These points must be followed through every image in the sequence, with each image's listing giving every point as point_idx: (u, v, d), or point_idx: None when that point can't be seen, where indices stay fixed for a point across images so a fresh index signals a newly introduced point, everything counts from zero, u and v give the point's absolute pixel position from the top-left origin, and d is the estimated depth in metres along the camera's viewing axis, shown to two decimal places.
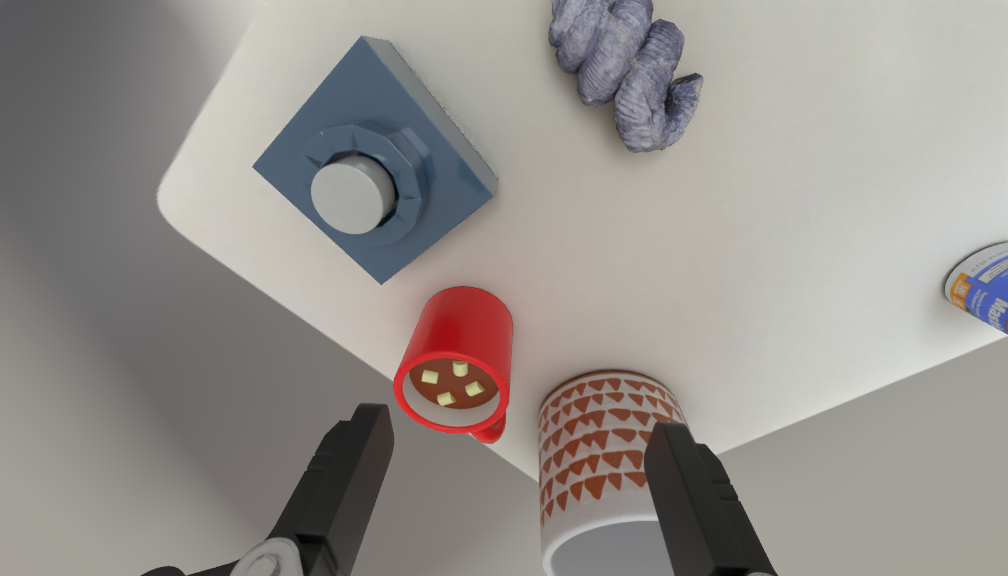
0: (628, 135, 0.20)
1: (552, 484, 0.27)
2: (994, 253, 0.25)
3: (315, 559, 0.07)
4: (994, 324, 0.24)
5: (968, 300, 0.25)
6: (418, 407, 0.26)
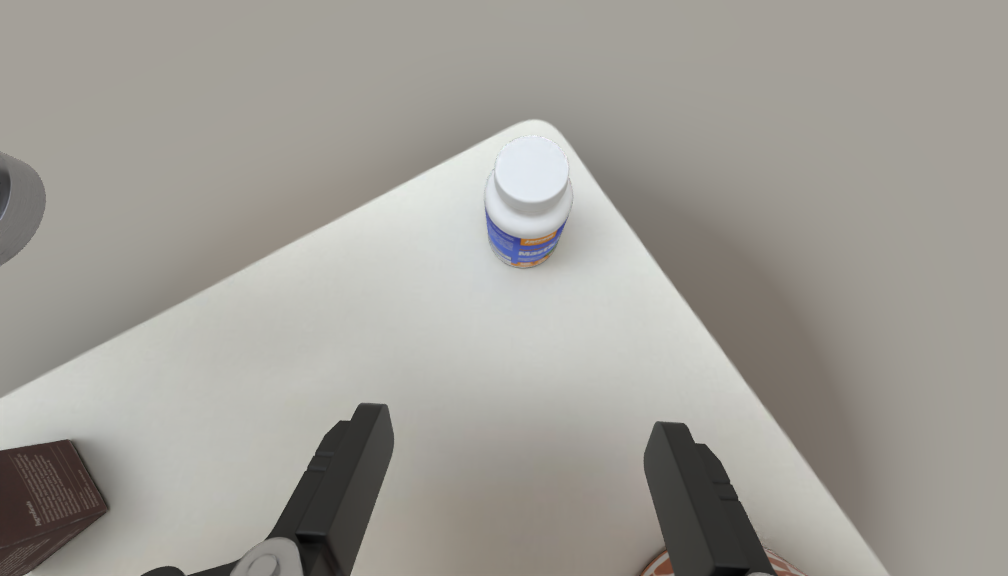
0: None
1: None
2: (492, 248, 0.27)
3: (315, 559, 0.07)
4: (549, 247, 0.25)
5: (532, 260, 0.26)
6: None
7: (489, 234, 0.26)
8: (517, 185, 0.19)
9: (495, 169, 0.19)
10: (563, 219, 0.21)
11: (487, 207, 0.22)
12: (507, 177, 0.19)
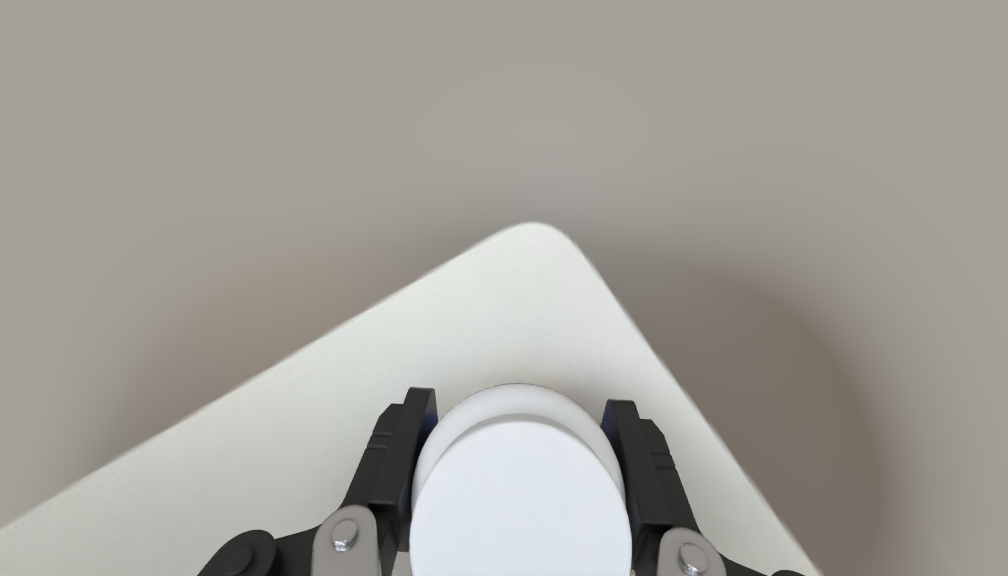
0: None
1: None
2: None
3: (387, 526, 0.08)
4: None
5: None
6: None
7: None
8: None
9: (411, 544, 0.06)
10: None
11: None
12: None
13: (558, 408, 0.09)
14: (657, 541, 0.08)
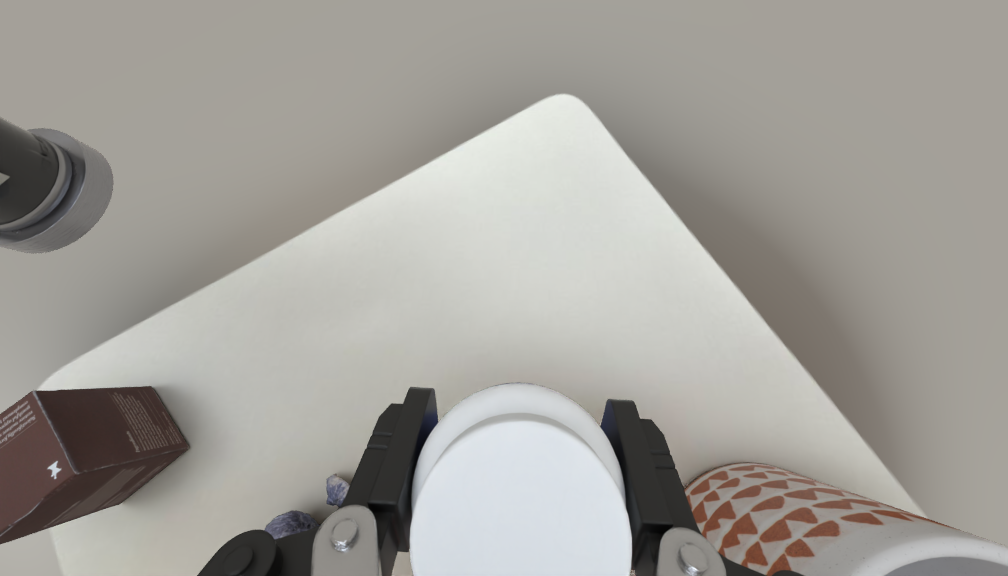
0: None
1: None
2: None
3: (387, 526, 0.08)
4: None
5: None
6: None
7: None
8: None
9: (412, 543, 0.06)
10: None
11: None
12: None
13: (558, 407, 0.09)
14: (657, 541, 0.08)
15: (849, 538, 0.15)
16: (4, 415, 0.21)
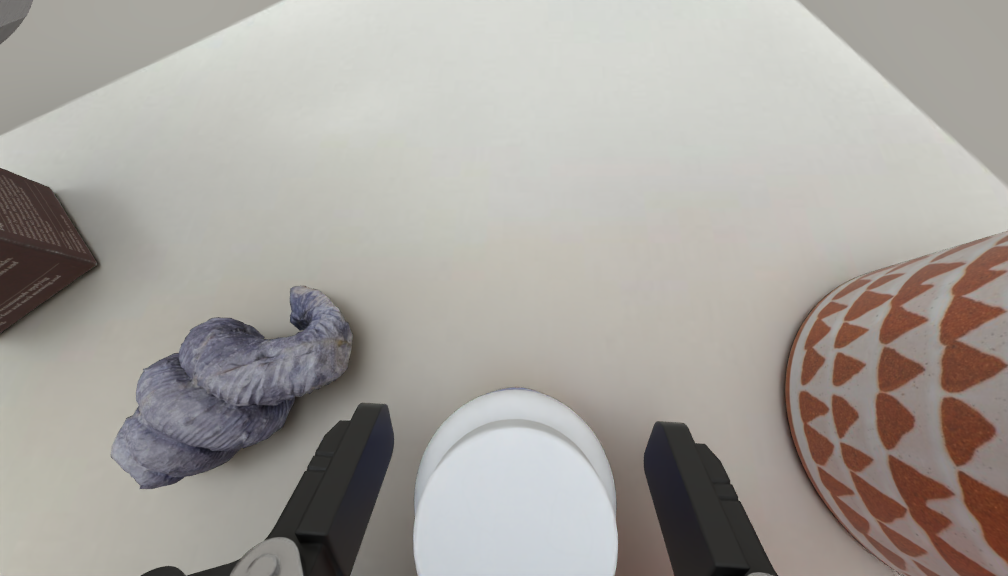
0: (291, 388, 0.14)
1: None
2: None
3: (315, 559, 0.07)
4: None
5: None
6: None
7: None
8: None
9: (415, 540, 0.07)
10: None
11: None
12: (446, 572, 0.07)
13: (552, 413, 0.10)
14: None
15: None
16: None
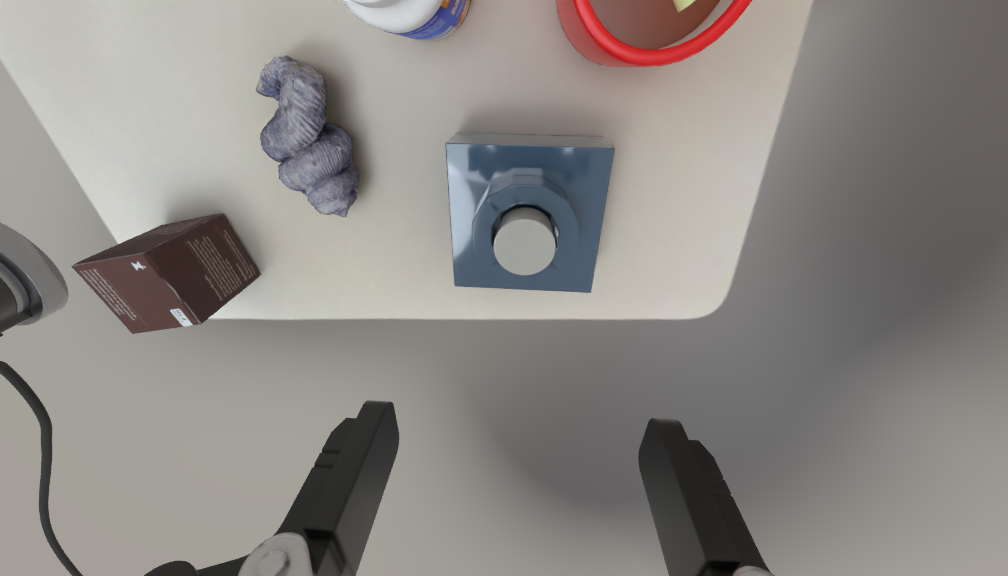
0: (313, 102, 0.21)
1: None
2: (428, 40, 0.22)
3: (323, 554, 0.08)
4: None
5: None
6: None
7: None
8: None
9: None
10: None
11: (385, 29, 0.17)
12: None
13: None
14: None
15: None
16: (94, 288, 0.25)
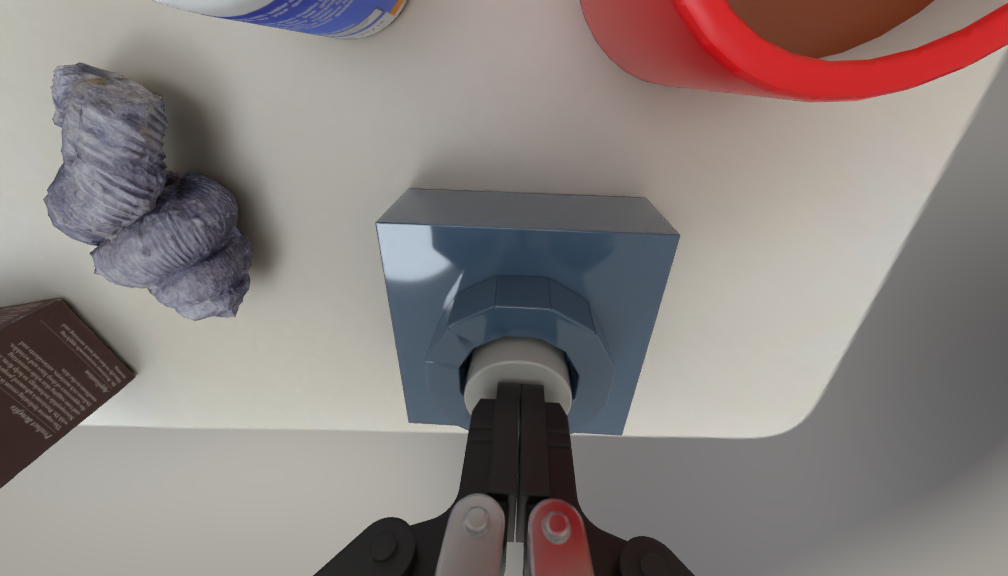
0: (128, 150, 0.12)
1: None
2: (343, 38, 0.12)
3: (507, 515, 0.08)
4: None
5: None
6: None
7: None
8: None
9: None
10: None
11: (180, 7, 0.07)
12: None
13: None
14: None
15: None
16: None
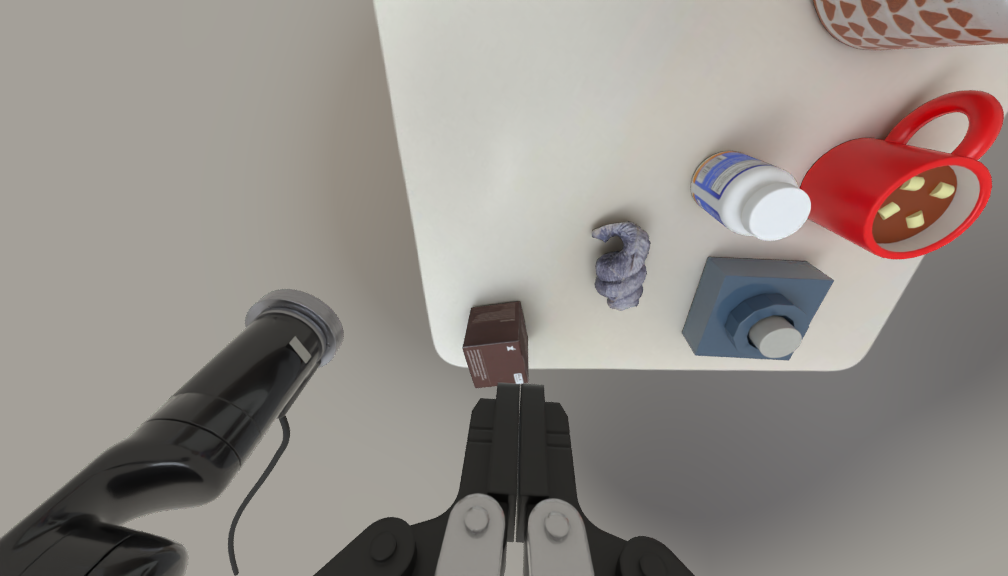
0: (647, 251, 0.34)
1: None
2: None
3: (507, 515, 0.08)
4: None
5: None
6: (962, 212, 0.27)
7: None
8: (781, 231, 0.26)
9: (758, 237, 0.27)
10: None
11: (742, 234, 0.29)
12: (770, 234, 0.26)
13: (754, 179, 0.27)
14: None
15: None
16: (468, 360, 0.38)
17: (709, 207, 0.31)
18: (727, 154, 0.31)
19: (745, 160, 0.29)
